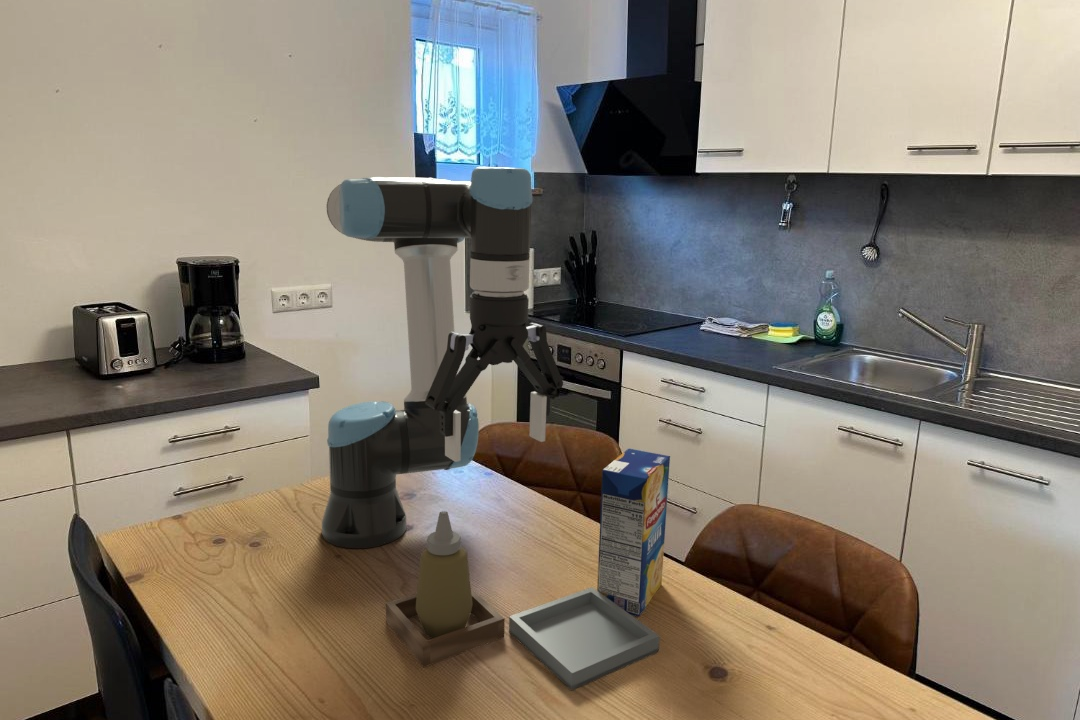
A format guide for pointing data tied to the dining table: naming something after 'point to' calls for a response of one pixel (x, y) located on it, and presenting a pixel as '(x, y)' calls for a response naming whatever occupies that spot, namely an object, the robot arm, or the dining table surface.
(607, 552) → the beverage box
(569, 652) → the tray
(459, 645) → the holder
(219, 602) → the dining table surface
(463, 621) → the squeeze bottle
